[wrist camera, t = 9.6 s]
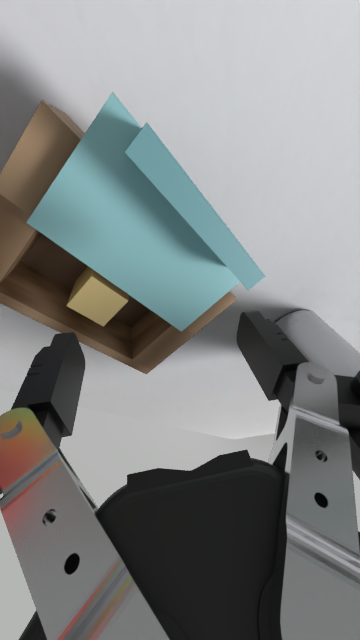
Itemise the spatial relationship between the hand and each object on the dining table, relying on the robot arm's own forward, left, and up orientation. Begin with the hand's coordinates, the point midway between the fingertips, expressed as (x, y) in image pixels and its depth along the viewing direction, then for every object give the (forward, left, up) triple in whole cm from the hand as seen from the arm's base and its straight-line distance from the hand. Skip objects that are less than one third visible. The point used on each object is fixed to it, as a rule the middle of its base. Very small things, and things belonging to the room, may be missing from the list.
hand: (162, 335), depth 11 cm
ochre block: (0, +7, -16) cm, 17 cm away
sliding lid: (0, -1, -10) cm, 10 cm away
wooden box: (0, +4, -16) cm, 16 cm away
